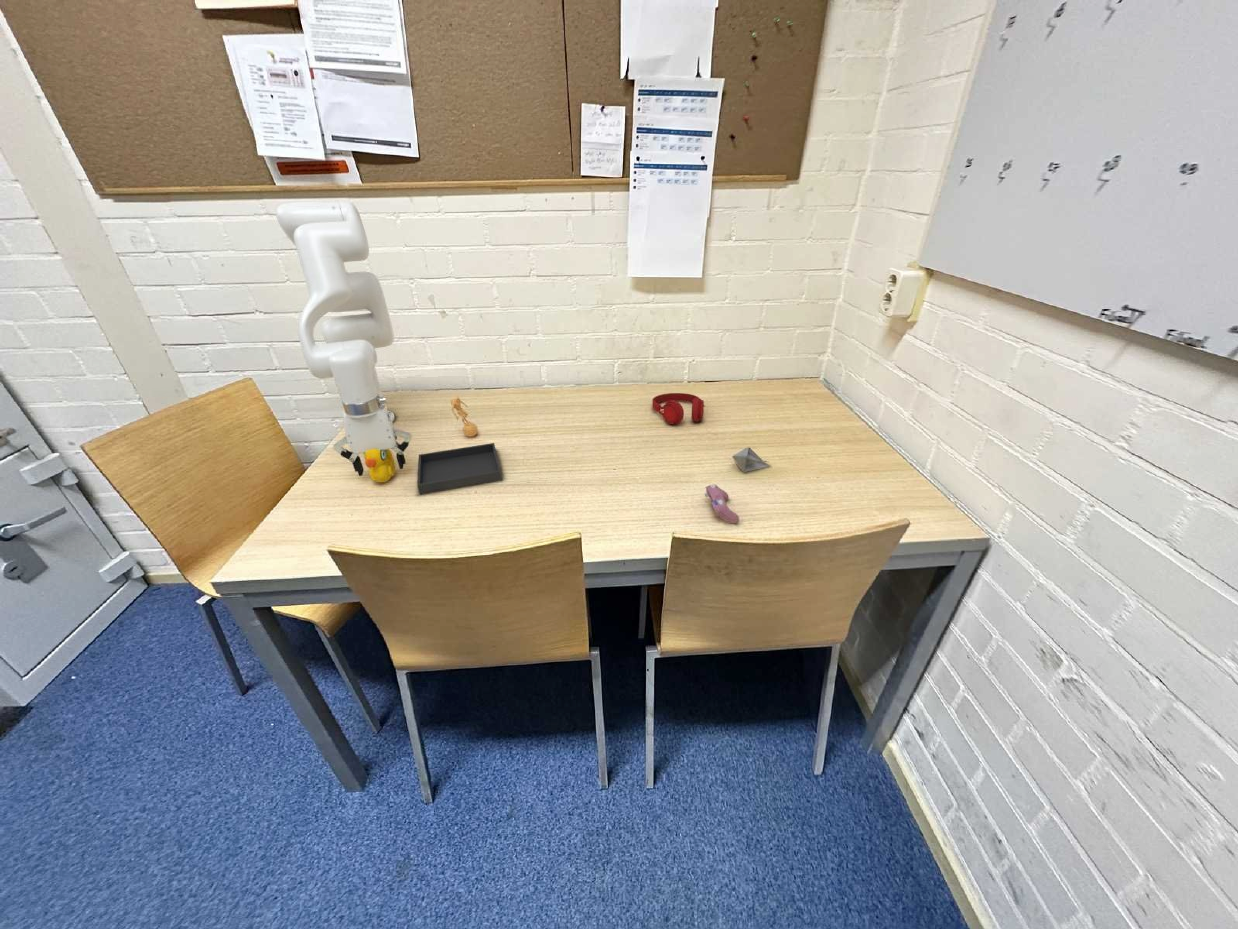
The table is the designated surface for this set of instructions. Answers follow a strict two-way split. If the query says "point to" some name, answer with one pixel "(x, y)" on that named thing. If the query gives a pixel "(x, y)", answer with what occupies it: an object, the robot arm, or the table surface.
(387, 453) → the duckling
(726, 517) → the pink elongated piece
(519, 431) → the table surface
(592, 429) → the table surface
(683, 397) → the headphones
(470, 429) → the figurine
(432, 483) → the pan
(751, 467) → the paper boat
